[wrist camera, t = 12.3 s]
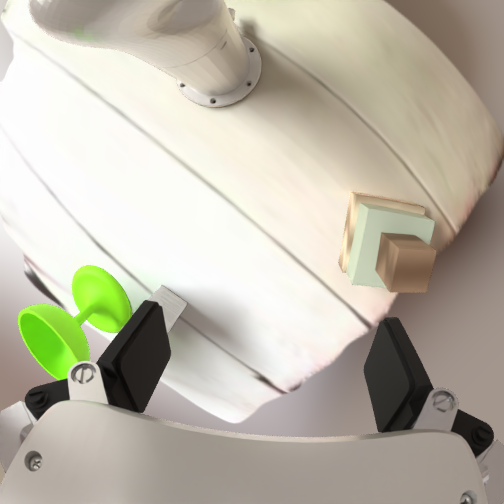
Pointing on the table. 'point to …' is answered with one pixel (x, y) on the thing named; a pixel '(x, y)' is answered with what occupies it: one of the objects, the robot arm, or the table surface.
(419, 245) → the walnut block
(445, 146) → the table surface
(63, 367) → the wineglass
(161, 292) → the skincare box
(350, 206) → the block bottom
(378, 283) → the block top
